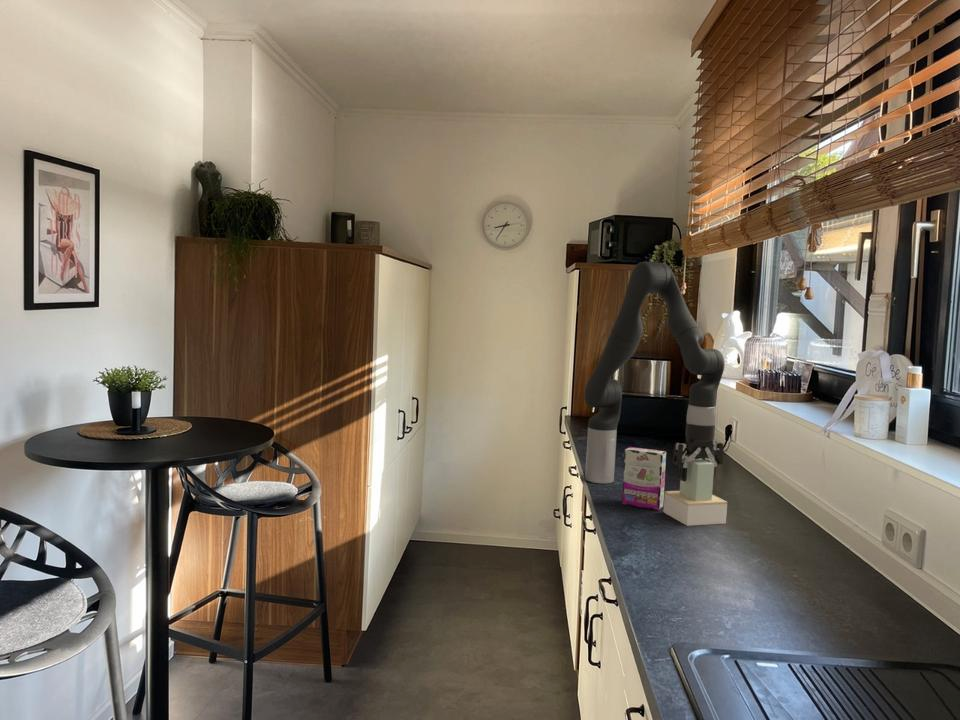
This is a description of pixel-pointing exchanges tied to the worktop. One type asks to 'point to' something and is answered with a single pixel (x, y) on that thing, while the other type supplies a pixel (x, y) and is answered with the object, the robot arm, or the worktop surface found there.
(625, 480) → the candy bar box
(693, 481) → the sage carton
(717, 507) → the podium
